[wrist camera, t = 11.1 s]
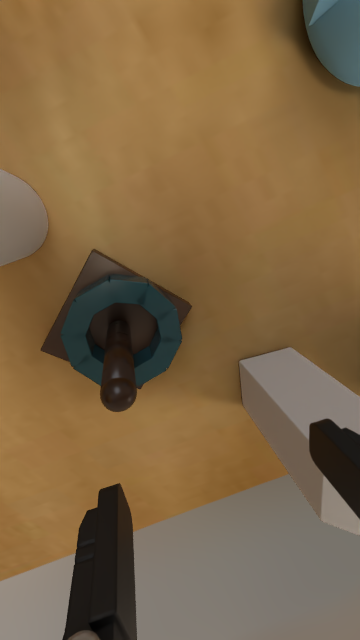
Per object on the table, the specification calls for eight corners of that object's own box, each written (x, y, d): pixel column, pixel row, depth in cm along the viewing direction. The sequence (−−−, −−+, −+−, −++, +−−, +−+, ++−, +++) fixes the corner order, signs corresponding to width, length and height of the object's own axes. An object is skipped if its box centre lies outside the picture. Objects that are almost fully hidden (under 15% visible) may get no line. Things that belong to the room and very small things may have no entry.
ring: (195, 305, 27) (203, 314, 25) (143, 387, 29) (145, 403, 27) (99, 251, 24) (97, 254, 21) (47, 348, 26) (39, 362, 23)
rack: (189, 302, 29) (243, 363, 16) (139, 382, 31) (153, 492, 18) (93, 248, 25) (67, 274, 12) (44, 344, 27) (-22, 449, 14)
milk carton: (242, 405, 35) (362, 582, 18) (237, 359, 33) (374, 515, 15) (290, 391, 36) (448, 546, 19) (290, 345, 34) (474, 477, 16)
